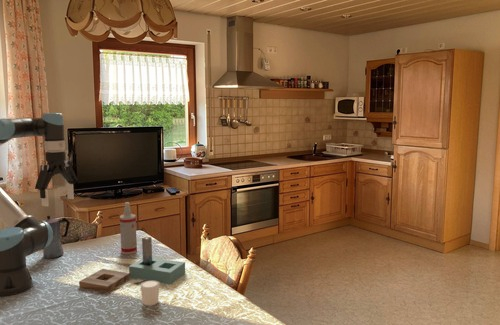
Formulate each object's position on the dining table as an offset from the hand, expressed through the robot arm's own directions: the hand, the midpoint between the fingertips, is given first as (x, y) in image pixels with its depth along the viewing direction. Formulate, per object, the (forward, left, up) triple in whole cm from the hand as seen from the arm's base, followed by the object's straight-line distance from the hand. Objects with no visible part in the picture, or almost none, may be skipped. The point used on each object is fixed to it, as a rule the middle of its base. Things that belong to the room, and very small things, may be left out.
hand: (58, 202), depth 174 cm
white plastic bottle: (+37, -6, -33) cm, 50 cm away
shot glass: (-6, -47, -33) cm, 58 cm away
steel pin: (+16, -31, -33) cm, 48 cm away
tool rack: (+16, -36, -33) cm, 51 cm away
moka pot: (+20, +25, -33) cm, 46 cm away
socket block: (+2, -20, -33) cm, 38 cm away
